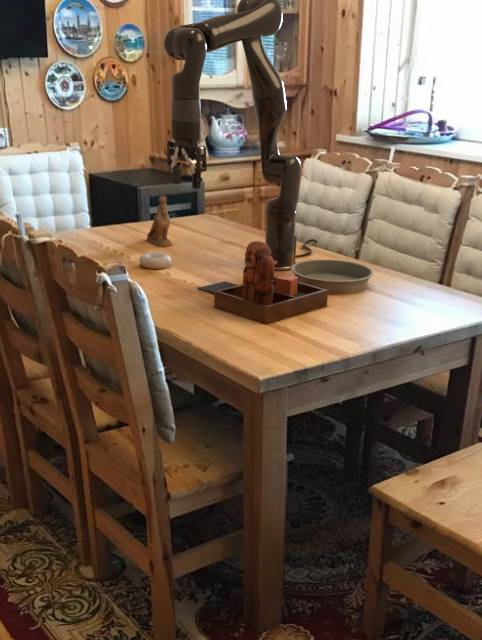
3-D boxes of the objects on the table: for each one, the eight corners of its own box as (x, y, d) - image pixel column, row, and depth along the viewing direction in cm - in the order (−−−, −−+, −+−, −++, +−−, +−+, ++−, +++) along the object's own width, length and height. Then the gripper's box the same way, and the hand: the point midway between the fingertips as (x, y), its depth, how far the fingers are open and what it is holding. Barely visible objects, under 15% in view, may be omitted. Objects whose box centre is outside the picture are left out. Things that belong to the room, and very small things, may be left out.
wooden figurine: (234, 306, 221) (236, 238, 212) (255, 303, 224) (257, 236, 215) (257, 318, 213) (259, 248, 204) (277, 315, 216) (281, 246, 207)
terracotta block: (282, 290, 228) (283, 274, 226) (297, 293, 226) (298, 277, 224) (275, 294, 224) (276, 277, 222) (289, 297, 222) (290, 280, 220)
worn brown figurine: (171, 252, 282) (175, 201, 270) (156, 253, 280) (160, 201, 268) (159, 238, 290) (163, 187, 278) (145, 238, 287) (148, 187, 276)
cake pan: (273, 282, 244) (273, 267, 242) (325, 269, 260) (326, 255, 258) (337, 301, 230) (339, 285, 228) (388, 286, 246) (390, 270, 244)
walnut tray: (276, 291, 236) (276, 275, 234) (327, 306, 225) (328, 289, 223) (213, 307, 220) (214, 290, 218) (265, 324, 209) (266, 307, 207)
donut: (135, 268, 252) (166, 271, 251) (134, 257, 251) (165, 259, 249) (145, 261, 261) (175, 263, 259) (144, 250, 259) (175, 252, 257)
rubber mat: (225, 282, 242) (225, 281, 242) (251, 290, 236) (251, 289, 236) (197, 289, 235) (197, 287, 235) (224, 297, 229) (224, 295, 228)
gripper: (214, 120, 204) (214, 189, 212) (181, 115, 213) (182, 181, 222) (190, 121, 200) (191, 191, 208) (157, 116, 209) (159, 183, 217)
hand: (186, 186), depth 215 cm, fingers open, 8 cm apart
